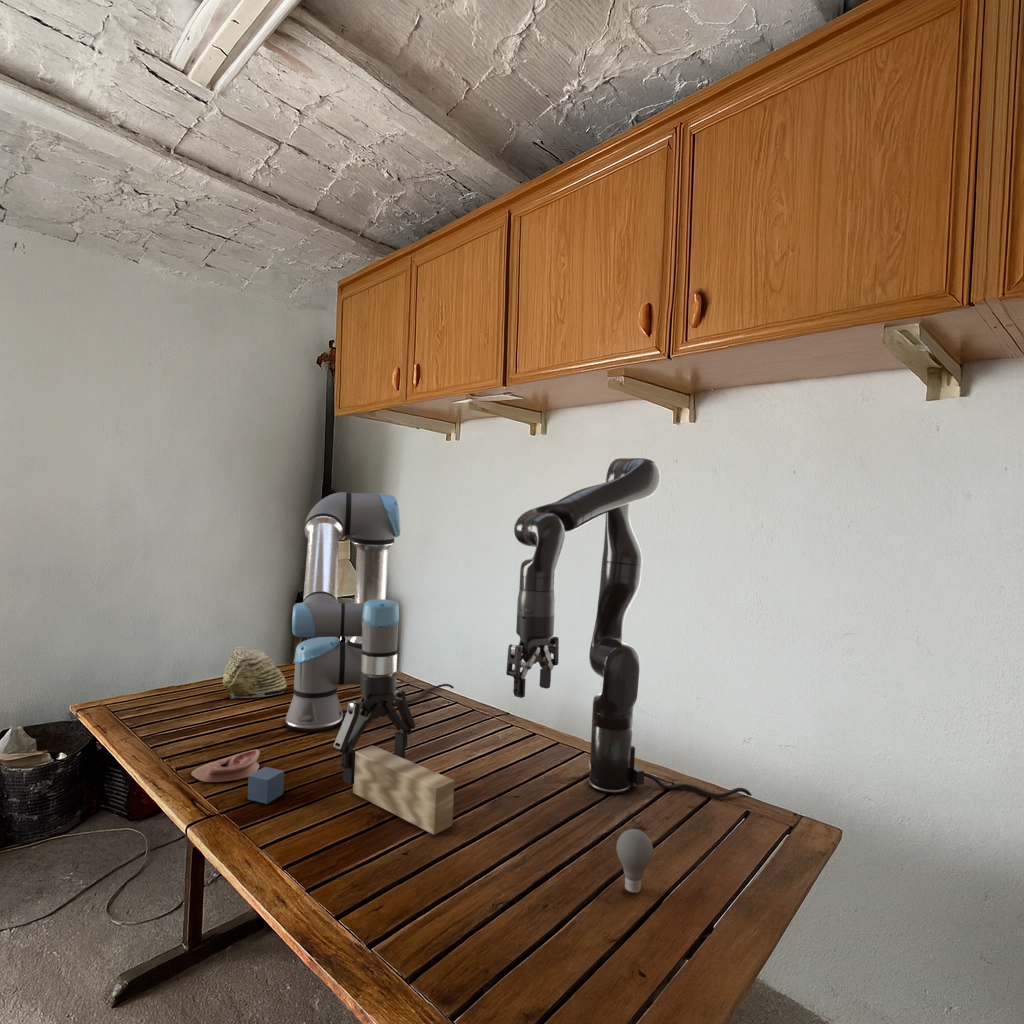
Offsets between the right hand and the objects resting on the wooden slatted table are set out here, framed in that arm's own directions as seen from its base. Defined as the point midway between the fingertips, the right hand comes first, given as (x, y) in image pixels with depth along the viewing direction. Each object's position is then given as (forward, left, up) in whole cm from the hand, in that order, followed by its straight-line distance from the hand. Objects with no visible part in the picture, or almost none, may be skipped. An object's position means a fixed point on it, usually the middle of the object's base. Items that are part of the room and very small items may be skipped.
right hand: (532, 692), depth 127 cm
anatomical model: (+57, -39, -26) cm, 74 cm away
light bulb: (-8, +27, -26) cm, 38 cm away
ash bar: (+23, -12, -26) cm, 37 cm away
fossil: (+52, -96, -26) cm, 113 cm away
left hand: (+27, -19, -21) cm, 39 cm away
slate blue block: (+49, -25, -26) cm, 61 cm away
